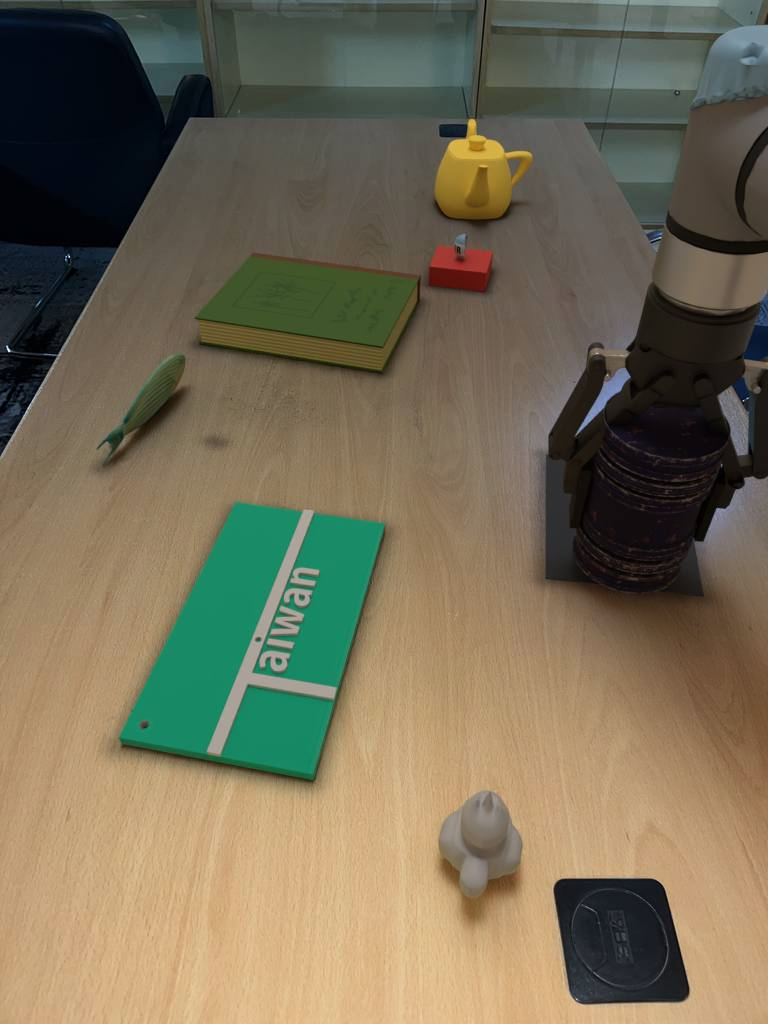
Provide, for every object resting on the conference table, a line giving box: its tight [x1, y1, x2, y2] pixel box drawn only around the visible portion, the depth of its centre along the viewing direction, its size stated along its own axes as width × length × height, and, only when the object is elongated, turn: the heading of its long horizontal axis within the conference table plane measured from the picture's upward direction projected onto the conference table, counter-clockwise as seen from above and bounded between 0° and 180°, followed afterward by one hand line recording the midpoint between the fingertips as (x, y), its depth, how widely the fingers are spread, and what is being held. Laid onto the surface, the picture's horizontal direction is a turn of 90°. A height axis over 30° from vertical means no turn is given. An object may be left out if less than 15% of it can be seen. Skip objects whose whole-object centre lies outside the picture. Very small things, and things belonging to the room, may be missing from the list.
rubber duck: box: [437, 789, 524, 899], centre depth 52 cm, size 5×7×8 cm
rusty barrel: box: [572, 390, 732, 595], centre depth 68 cm, size 10×10×15 cm
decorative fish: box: [96, 352, 219, 466], centre depth 88 cm, size 7×18×10 cm
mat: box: [544, 454, 705, 597], centre depth 79 cm, size 18×14×1 cm
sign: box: [118, 501, 386, 781], centre depth 69 cm, size 27×1×15 cm
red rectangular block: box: [428, 233, 494, 292], centre depth 114 cm, size 8×7×6 cm
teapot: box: [433, 118, 534, 220], centre depth 131 cm, size 22×16×11 cm
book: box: [194, 252, 422, 374], centre depth 105 cm, size 25×19×4 cm
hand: (634, 524), depth 70 cm, fingers closed on rusty barrel, 10 cm apart
